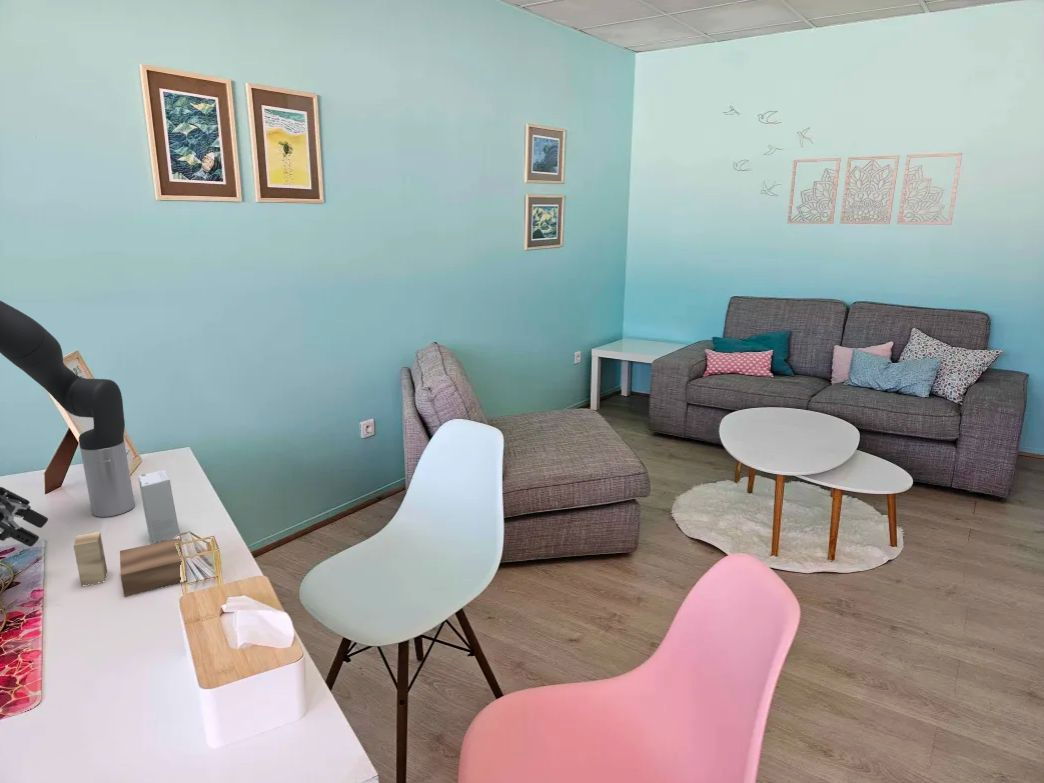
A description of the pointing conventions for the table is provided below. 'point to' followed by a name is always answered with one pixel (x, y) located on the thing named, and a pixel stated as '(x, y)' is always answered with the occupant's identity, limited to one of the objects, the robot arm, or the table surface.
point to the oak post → (90, 558)
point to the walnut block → (150, 567)
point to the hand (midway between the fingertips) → (40, 532)
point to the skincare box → (158, 506)
